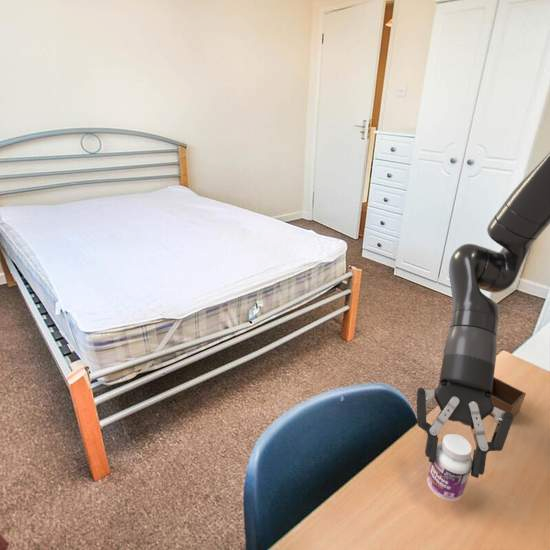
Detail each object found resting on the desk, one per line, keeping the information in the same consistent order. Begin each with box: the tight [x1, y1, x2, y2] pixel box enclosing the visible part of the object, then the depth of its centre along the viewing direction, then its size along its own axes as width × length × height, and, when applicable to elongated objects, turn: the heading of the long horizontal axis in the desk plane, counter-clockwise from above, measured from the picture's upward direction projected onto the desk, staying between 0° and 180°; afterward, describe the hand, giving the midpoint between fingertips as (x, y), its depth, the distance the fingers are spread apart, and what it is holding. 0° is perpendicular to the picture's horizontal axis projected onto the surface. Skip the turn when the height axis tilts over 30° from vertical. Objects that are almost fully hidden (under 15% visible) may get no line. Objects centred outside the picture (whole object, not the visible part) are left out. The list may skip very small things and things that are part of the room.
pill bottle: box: [427, 432, 473, 502], centre depth 59 cm, size 5×5×10 cm
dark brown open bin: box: [488, 376, 527, 418], centre depth 81 cm, size 7×7×5 cm
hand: (452, 468), depth 57 cm, fingers closed on pill bottle, 5 cm apart
